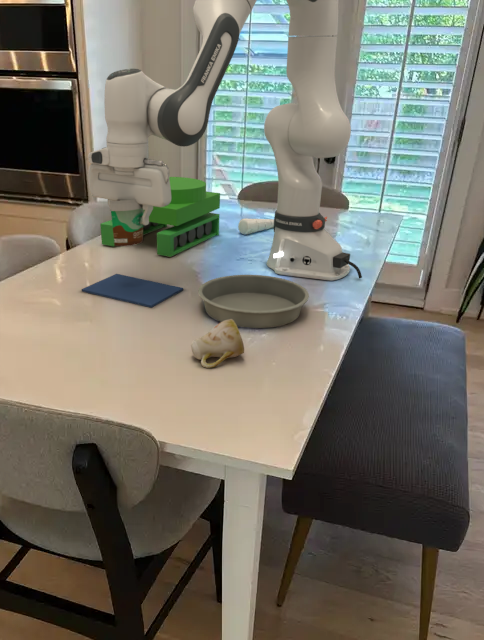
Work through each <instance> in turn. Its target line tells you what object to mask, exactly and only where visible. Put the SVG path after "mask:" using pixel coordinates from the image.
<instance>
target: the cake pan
mask: <svg viewBox="0 0 484 640" xmlns="http://www.w3.org/2000/svg"><path fill="white" fill-rule="evenodd" d="M197 294H198V296H199V298H200V299H201V300H202V301H203V305H204V308H205V312H206V313H207V315H208V316H209V317H210V318H212V319H213V320H215V321H218V322H219V323H221V322H222V321H225V320H229V319H232V320H233V321H234V322H235V323H236V325H237V327H238V328H248V329H268V328H269V329H270V328H275V327H281V326H285V325H288V324H290V323H293V322H295V320H297V319H298V318H299V317H300V314H301V311H302V308H303V306H304V305H305V304H306V303H308V301H309V298H310V294H309V291H308V290H307V289H306V288H305V287H304V286H302V285H301V284H299V283H296V282H294V281H291V280H289V279H285V278H282V277H277V276H272V275H271V276H270V275H262V274H232V275H224V276H220V277H216V278H213V279H212V278H211V279H209V280H207V281H206V282H204V283H202V284H201V285H200V286H199V288H198V290H197Z"/></svg>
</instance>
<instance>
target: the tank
mask: <svg viewBox="0 0 484 640" xmlns="http://www.w3.org/2000/svg"><path fill="white" fill-rule="evenodd" d="M169 180H170V187H171V202H170V203H169V205H167V206H164V207H155V206H153V210H152V212H151V214H150V216H149V224H148V225H143V236H145V235H146V234H150V233H152V232H154V231H155V232H156V231H157V230H159V229H162V228H166V229H163V230H161V231H158V232H156V255H158V256H163V257H169V258H172V257H173V256H175V255H179V253H181V252H184V251H186V250H189V249H190V248H192V247H195V246H196V245H199V244H201V243H203V242H205V241H207V240H209V239H211V238H213V237H215V236H219V235H220V213H214V211H217V210H219V209H220V208H221V193H220V192H213V191H208V190H207V182H205V181H203V180H201V179H197V178H193V177H192V178H191V177H185V176H183V177H182V176H169ZM144 211H145V210H144ZM168 226H169V227H168ZM170 226H171V227H170ZM100 237H101V245H103V246H109V247H116V246H115V245H114V236H113V226H112V219H110V220H106V221H103V222H101V223H100Z"/></svg>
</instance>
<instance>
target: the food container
mask: <svg viewBox="0 0 484 640" xmlns="http://www.w3.org/2000/svg"><path fill="white" fill-rule="evenodd" d="M109 212H110V218H111V220H112V226H113V236H114V245H115V246H114V247H129V246H135V245H139V244H141V243H143V241H144V235H143V225H140V224H139V221H140V220H139V217H140V216H143V214H144V210H143V205H142V204H138V203H137V202H136V199H133V200H117V201H112V200H110V207H109Z"/></svg>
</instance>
